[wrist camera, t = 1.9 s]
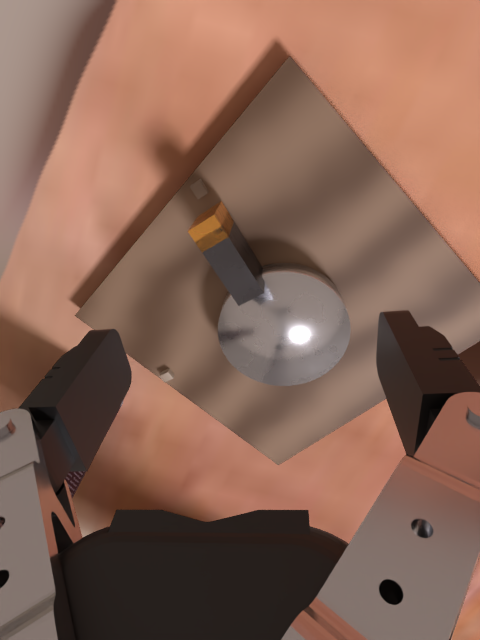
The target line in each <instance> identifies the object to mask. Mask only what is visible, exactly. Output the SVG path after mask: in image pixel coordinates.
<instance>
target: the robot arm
mask: <svg viewBox="0 0 480 640" xmlns="http://www.w3.org/2000/svg"><path fill="white" fill-rule="evenodd" d="M376 365H377V372H378V376H379V379H380V382H381V385H382V388H383V391H384V393H385V396H386V399H387V402H388V404H389V407H390V410H391V413H392V415H393V418H394V421H395V424H396V426H397V429H398V432H399V435H400V438H401V440H402V443H403V446H404V449H405V451H406V455H405V456H404V457H403V458H402V460H401V461H400V463H399V464H398V466H397V467H396V469H395V471H394V472H393V474H392V475H391V477H390V479H389V480H388V482H387V483H386V485H385V487H384V488H383V490H382V492H381V493H380V495H379V496H378V498H377V500H376V501H375V503H374V504H373V506H372V508H371V509H370V511H369V513H368V514H367V516H366V517H365V519H364V521H363V522H362V524H361V525H360V527H359V529H358V530H357V532H356V534H355V535H354V537H353V538H352V540H351V542H350V543H349V544H348V543H347V542H345V541H344V540H342V539H340V538H338V537H336V536H334V535H333V534H330V533H328V532H325V531H323V530H320V529H317V528H313V527H310V526H309V514H308V510H257V511H253V512H249V513H245V514H241V515H237V516H232V517H228V518H224V519H220V520H216V521H212V522H203V521H199V520H195V519H192V518H188V517H185V516H181V515H178V514H174V513H171V512H167V511H164V510H116V513H115V515H114V518H113V520H112V523H111V525H110V527H106V528H104V529H101V530H98V531H96V532H93V533H91V534H89V535H87V536H85V537H83V538H82V534H81V530H80V527H79V523H78V519H77V516H76V512H75V508H74V505H73V501H72V497H71V493H70V490H69V486H68V484H67V482H66V480H65V478H66V476H67V475H68V473H69V472H74V471H88V469H89V467H90V465H91V463H92V461H93V459H94V457H95V455H96V453H97V451H98V449H99V447H100V445H101V443H102V441H103V439H104V437H105V435H106V433H107V431H108V429H109V427H110V425H111V423H112V421H113V419H114V417H115V415H116V413H117V411H118V409H119V407H120V405H121V403H122V401H123V399H124V397H125V395H126V393H127V391H128V390H129V387H130V384H131V368H130V365H129V362H128V359H127V356H126V353H125V350H124V347H123V344H122V341H121V338H120V335H119V333H118V331H117V330H116V329H102V330H91V331H89V332H88V333H87V334H86V336H85V337H84V338H83V339H82V341H81V342H80V343H79V344H78V346H75V347H74V348H73V349H71V350H70V351H68V352H67V353H66V354H64V355H63V356H61V358H60V359H59V360H58V361H57V362H56V364H55V365H54V366H53V367H52V370H50V371H49V372H48V373H47V374H46V376H45V379H42V380H41V382H40V383H39V384H38V385H37V386H36V388H35V389H34V390H33V391H32V393H31V394H30V395H29V396H28V397H27V399H26V400H25V401H24V402H23V403H22V405H21V406H20V407H19V408H18V409H11V410H6V411H3V412H0V640H451V638H452V635H453V632H454V629H455V627H456V624H457V621H458V618H459V615H460V612H461V609H462V606H463V604H464V601H465V598H466V595H467V592H468V589H469V586H470V583H471V580H472V578H473V575H474V572H475V569H476V566H477V563H478V560H479V558H480V386H479V385H478V383H477V382H476V380H475V379H474V377H473V376H472V375H471V373H470V372H469V370H468V369H467V367H466V366H465V364H464V363H463V362H462V360H460V359H459V356H458V354H457V353H456V352H455V350H453V347H452V346H451V344H450V343H449V341H448V340H447V339H446V337H445V336H444V335H443V334H441V333H440V332H438V331H436V330H435V329H433V328H432V327H430V326H421V327H419V326H418V324H417V323H416V321H415V319H414V318H413V316H412V315H411V313H410V312H409V311H408V310H402V311H386V312H380V314H379V320H378V335H377V351H376Z"/></svg>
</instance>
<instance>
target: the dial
mask: <svg viewBox="0 0 480 640" xmlns="http://www.w3.org/2000/svg"><path fill="white" fill-rule="evenodd" d="M188 233H189V234H190V236H191V237H192V239H193V240H194V242H195V243H196V244H197V246H198V247H199V249H200V250H201V252H202V253H203V255H204V256H205V258H206V259H207V261H208V262H209V264H210V265H211V266H212V268H213V269H214V271H215V272H216V274H217V275H218V277H219V278H220V280H221V281H222V283H223V284H224V286H225V287H226V288H227V290H228V291H229V292H228V293H227V295H226V297H225V299H224V303H223V306H222V309H221V313H220V317H219V322H218V338H219V343H220V346H221V349H222V351H223V353H224V355H225V356H226V358H227V359H228V361H229V362H230V363H231V364H232V365H233V366H234V367H235V368H236V369H237V370H238V371H239V372H241V373H242V374H244V375H245V376H247V377H249V378H251V379H253V380H255V381H258V382H261V383H264V384H269V385H275V386H292V385H299V384H303V383H307V382H310V381H312V380H315V379H317V378H319V377H321V376H322V375H324V374H326V373H327V372H328V371H330V370H331V369H332V368H333V367H334V366H335V365H336V364H337V363H338V362H339V360H340V359H341V358H342V356H343V355H344V353H345V351H346V349H347V346H348V344H349V339H350V331H351V327H350V319H349V316H348V312H347V309H346V306H345V303H344V300H343V298H342V296H341V294H340V292H339V291H338V289H337V287H336V286H335V285H334V284H333V283H332V282H331V281H330V280H329V279H328V278H327V277H326V276H324V275H323V274H321V273H320V272H318V271H316V270H314V269H312V268H310V267H306V266H303V265H299V264H294V263H275V264H269V265H265V266H261V264H260V262H259V261H258V259H257V258H256V256H255V254H254V253H253V251H252V249H251V248H250V246H249V245H248V243H247V241H246V240H245V238H244V237H243V235H242V233H241V232H240V230H239V228H238V227H237V225H236V224H235V222H234V220H233V219H232V217H231V216H230V214H229V212H228V211H227V209H226V207H225V206H224V204H223V203H222V201H221V202H219V203H218V204H216V205H215V206H213V207H211V208H210V209H208V210H207V211H205V212H203V213H202V214H200V215H199V216H197V218H196V219H195V221H194V222H193V224H192V225H191V227H190V228H189V230H188Z"/></svg>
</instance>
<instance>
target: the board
mask: <svg viewBox="0 0 480 640" xmlns="http://www.w3.org/2000/svg"><path fill="white" fill-rule="evenodd" d="M221 201H222V203H223V204H224V206H225V207H226V209H227V211H228V212H229V214H230V216H231V217H232V219H233V220H234V222H235V224H236V225H237V227H238V228H239V230H240V232H241V233H242V235H243V237H244V238H245V240H246V241H247V243H248V245H249V246H250V248H251V249H252V251H253V253H254V254H255V256H256V258H257V259H258V261H259V262H260V264H261V266H265V265H269V264H275V263H294V264H299V265H303V266H306V267H310V268H312V269H314V270H316V271H318V272H320V273H321V274H323V275H324V276H326V277H327V278H328V279H329V280H330V281H331V282H332V283H333V284H334V285H335V286H336V287H337V289H338V291H339V292H340V294H341V296H342V298H343V300H344V303H345V306H346V309H347V312H348V316H349V319H350V327H351V331H350V339H349V344H348V346H347V349H346V351H345V353H344V355H343V356H342V358H341V359H340V360H339V362H338V363H337V364H336V365H335V366H334V367H333V368H332V369H331V370H330V371H328V372H327V373H326V374H324V375H322V376H321V377H319V378H317V379H315V380H312V381H310V382H307V383H303V384H299V385H292V386H275V385H269V384H264V383H261V382H258V381H255V380H253V379H251V378H249V377H247V376H245V375H244V374H242V373H241V372H239V371H238V370H237V369H236V368H235V367H234V366H233V365H232V364H231V363H230V362H229V361H228V359H227V358H226V356H225V355H224V353H223V351H222V349H221V346H220V343H219V338H218V322H219V317H220V313H221V309H222V306H223V303H224V299H225V297H226V295H227V293H228V292H229V291H228V290H227V288H226V287H225V286H224V284H223V283H222V281H221V280H220V278H219V277H218V275H217V274H216V272H215V271H214V269H213V268H212V266H211V265H210V264H209V262H208V261H207V259H206V258H205V256H204V255H203V253H202V252H201V250H200V249H199V247H198V246H197V244H196V243H195V242H194V240H193V239H192V237H191V236H190V234H189V233H188V230H189V228H190V227H191V225H192V224H193V222H194V221H195V219H196V218H197V216H199V215H200V214H202V213H203V212H205V211H207V210H208V209H210V208H211V207H213V206H215V205H216V204H218V203H219V202H221ZM402 310H408V311H409V312H410V313H411V315H412V316H413V318H414V319H415V321H416V323H417V324H418V326H419V327H421V326H430V327H432V328H433V329H435V330H436V331H438V332H440V333H441V334H443V335H444V336H445V337H446V339H447V340H448V341H449V343H450V344H451V346H452V347H453V350H455V352H456V353H457V354H459V353H461V352H463V351H464V350H466V349H467V348H469V347H471V346H472V345H474V344H476V343H477V342H479V341H480V283H479V282H478V280H477V279H476V278H475V277H474V276H473V274H472V273H471V272H470V271H469V270H468V268H467V267H466V266H465V265H464V264H463V263H462V261H461V260H460V259H459V258H458V257H457V255H456V254H455V253H454V252H453V251H452V249H451V248H450V247H449V246H448V245H447V243H446V242H445V241H444V240H443V239H442V237H441V236H440V235H439V234H438V233H437V231H436V230H435V229H434V228H433V227H432V225H431V224H430V223H429V222H428V221H427V219H426V218H425V217H424V216H423V215H422V213H421V212H420V211H419V210H418V209H417V207H416V206H415V205H414V204H413V203H412V201H411V200H410V199H409V198H408V197H407V196H406V194H405V193H404V192H403V191H402V190H401V188H400V187H399V186H398V185H397V184H396V182H395V181H394V180H393V179H392V178H391V176H390V175H389V174H388V173H387V172H386V170H385V169H384V168H383V167H382V166H381V164H380V163H379V162H378V161H377V160H376V158H375V157H374V156H373V155H372V154H371V152H370V151H369V150H368V149H367V148H366V146H365V145H364V144H363V143H362V142H361V140H360V139H359V138H358V137H357V136H356V134H355V133H354V132H353V131H352V130H351V129H350V127H349V126H348V125H347V124H346V123H345V121H344V120H343V119H342V118H341V117H340V115H339V114H338V113H337V112H336V111H335V109H334V108H333V107H332V106H331V105H330V103H329V102H328V101H327V100H326V99H325V97H324V96H323V95H322V94H321V93H320V91H319V90H318V89H317V88H316V87H315V85H314V84H313V83H312V82H311V81H310V79H309V78H308V77H307V76H306V75H305V73H304V72H303V71H302V70H301V69H300V67H299V66H298V65H297V64H296V63H295V62H294V60H293V59H292V58H291V57H290V56H289V58H288V59H287V60H286V61H285V62H284V64H283V65H282V66H281V67H280V68H279V70H278V71H277V72H276V73H275V74H274V76H273V77H272V78H271V79H270V80H269V82H268V83H267V84H266V85H265V87H264V88H263V89H262V90H261V91H260V93H259V94H258V95H257V96H256V97H255V99H254V100H253V101H252V102H251V103H250V105H249V106H248V107H247V108H246V109H245V111H244V112H243V113H242V114H241V116H240V117H239V118H238V119H237V120H236V122H235V123H234V124H233V125H232V126H231V128H230V129H229V130H228V131H227V132H226V134H225V135H224V136H223V137H222V138H221V140H220V141H219V142H218V143H217V144H216V146H215V147H214V148H213V149H212V151H211V152H210V153H209V154H208V155H207V157H206V158H205V159H204V160H203V161H202V163H201V164H200V165H199V166H198V167H197V169H196V170H195V171H194V172H193V173H192V175H191V176H190V177H189V178H188V180H187V181H186V182H185V183H184V184H183V186H182V187H181V188H180V189H179V190H178V192H177V193H176V194H175V195H174V196H173V198H172V199H171V200H170V201H169V202H168V204H167V205H166V206H165V207H164V209H163V210H162V211H161V212H160V213H159V215H158V216H157V217H156V218H155V219H154V221H153V222H152V223H151V224H150V225H149V227H148V228H147V229H146V230H145V231H144V233H143V234H142V235H141V236H140V238H139V239H138V240H137V241H136V242H135V244H134V245H133V246H132V247H131V248H130V250H129V251H128V252H127V253H126V254H125V256H124V257H123V258H122V259H121V260H120V262H119V263H118V264H117V265H116V267H115V268H114V269H113V270H112V271H111V273H110V274H109V275H108V276H107V277H106V279H105V280H104V281H103V282H102V283H101V285H100V286H99V287H98V288H97V289H96V291H95V292H94V293H93V294H92V295H91V297H90V298H89V299H88V300H87V302H86V303H85V304H84V305H83V306H82V308H81V309H80V310H79V311H78V312H77V314H76V315H75V316H76V317H77V318H79V319H80V320H81V321H83V322H84V323H86V324H87V325H88V326H90V327H91V328H92V329H94V330H102V329H116V330H117V331H118V333H119V335H120V338H121V341H122V344H123V347H124V350H125V353H126V354H128V355H129V356H130V357H132V358H133V359H135V360H136V361H137V362H139V363H140V364H141V365H143V366H144V367H145V368H147V369H148V370H150V371H151V372H152V373H154V374H155V375H156V376H158V377H159V378H160V379H162V380H163V381H164V382H166V383H167V384H169V385H170V386H171V387H173V388H174V389H175V390H177V391H178V392H179V393H181V394H182V395H184V396H185V397H186V398H188V399H189V400H190V401H192V402H193V403H194V404H196V405H197V406H199V407H200V408H201V409H203V410H204V411H205V412H207V413H208V414H209V415H211V416H212V417H213V418H215V419H216V420H218V421H219V422H220V423H222V424H223V425H224V426H226V427H227V428H228V429H230V430H231V431H233V432H234V433H235V434H237V435H238V436H239V437H241V438H242V439H243V440H245V441H246V442H248V443H249V444H250V445H252V446H253V447H254V448H256V449H257V450H258V451H260V452H261V453H262V454H264V455H265V456H267V457H268V458H269V459H271V460H272V461H273V462H275V463H276V464H277V465H280V464H281V463H283V462H285V461H286V460H288V459H289V458H291V457H293V456H294V455H296V454H297V453H299V452H301V451H302V450H304V449H306V448H307V447H309V446H310V445H312V444H314V443H315V442H317V441H319V440H320V439H322V438H323V437H325V436H327V435H328V434H330V433H331V432H333V431H335V430H336V429H338V428H340V427H341V426H343V425H344V424H346V423H348V422H349V421H351V420H353V419H354V418H356V417H357V416H359V415H361V414H362V413H364V412H365V411H367V410H369V409H370V408H372V407H374V406H375V405H377V404H378V403H380V402H382V401H383V400H385V399H386V396H385V393H384V391H383V388H382V385H381V382H380V379H379V376H378V372H377V365H376V351H377V335H378V320H379V314H380V312H386V311H402Z"/></svg>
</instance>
